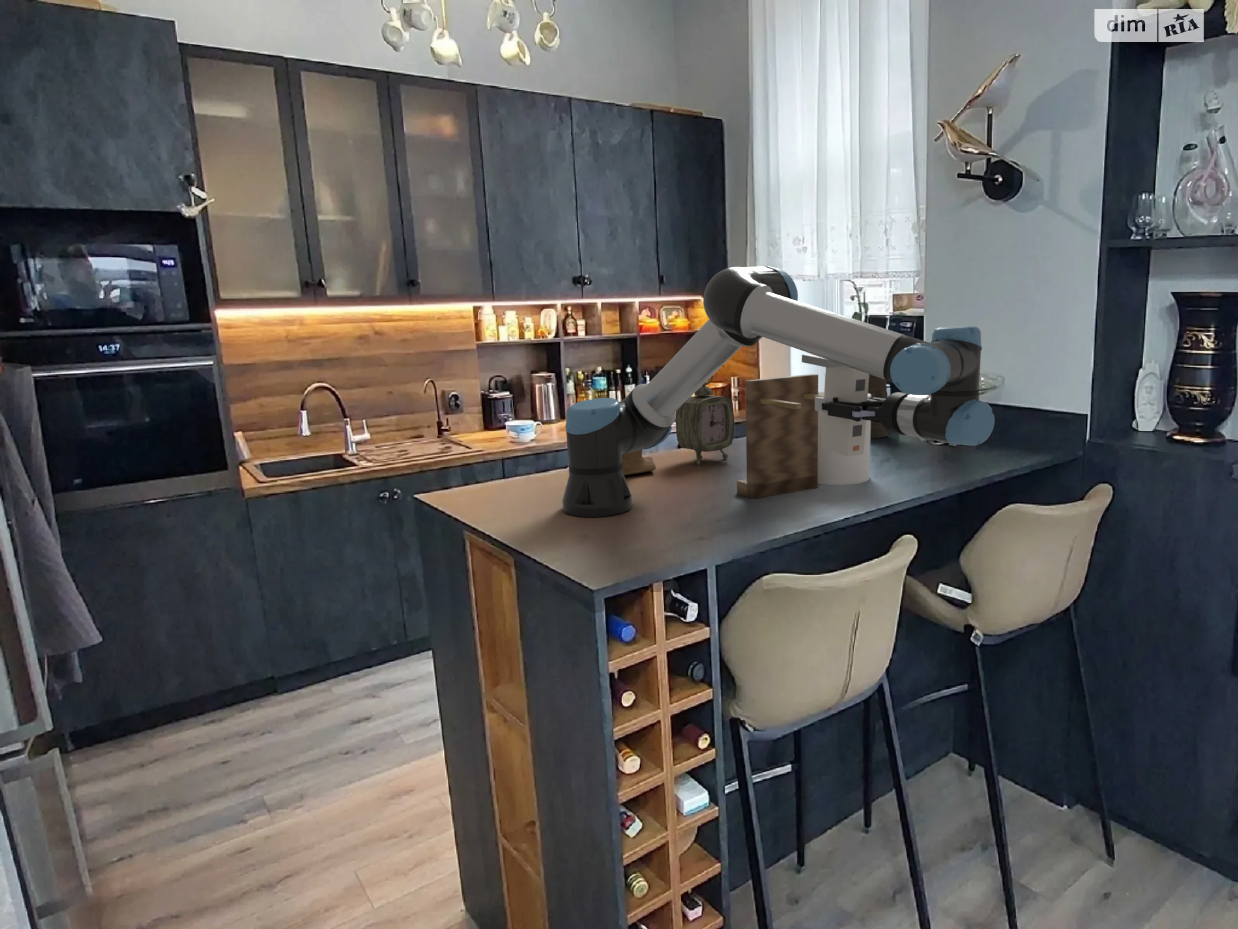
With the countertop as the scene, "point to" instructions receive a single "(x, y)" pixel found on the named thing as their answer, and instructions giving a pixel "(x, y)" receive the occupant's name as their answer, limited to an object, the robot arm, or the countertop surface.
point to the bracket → (781, 436)
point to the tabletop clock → (705, 422)
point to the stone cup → (636, 463)
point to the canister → (843, 461)
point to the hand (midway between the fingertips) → (825, 402)
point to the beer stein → (877, 390)
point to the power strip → (848, 388)
